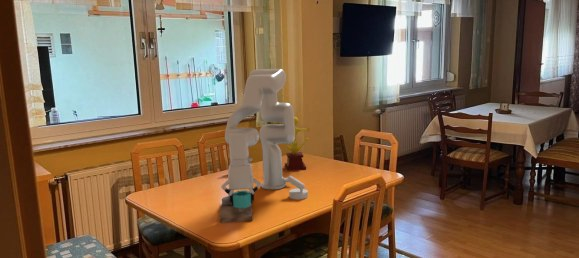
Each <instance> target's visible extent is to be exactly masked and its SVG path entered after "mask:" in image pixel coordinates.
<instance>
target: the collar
mask: <svg viewBox="0 0 579 258" xmlns="http://www.w3.org/2000/svg"><path fill="white" fill-rule="evenodd" d="M233 205H234V207H236V208H247V207H249V206H251V192H250V190H247V189H242V190H237V191H234V193H233Z"/></svg>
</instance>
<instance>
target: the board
mask: <svg viewBox="0 0 579 258" xmlns="http://www.w3.org/2000/svg"><path fill="white" fill-rule="evenodd" d="M228 189H229V188H228ZM229 190H230V189H229ZM234 192H235V190H234V191H233V193H234ZM252 205H253V203H252V204H251V206H249V207H247V208H236V207H234V205H232V202H230V196H229V194H227V196H224V197H222V198H221V206H220V214H219V223H220V224H224V223H239V222H250V221H251V222H252V221H254V220H253V207H252Z"/></svg>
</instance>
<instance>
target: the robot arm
mask: <svg viewBox="0 0 579 258" xmlns="http://www.w3.org/2000/svg"><path fill="white" fill-rule="evenodd" d="M248 75H249V76H248V77H247V79H246V82H245V87H244V92H243V97H242V100H241V101H242V102H241V104H240V106H238V107H237V108H236V109H235V110H234V111H233V112H232V113H231V114H230V116H229V118H228V120H227V123H226V127H225V132H224V139H225V143H227V144H228V148H229V158H230V159H229V160H230V164H229V165H228V173H227V175H228V176H227V180H226V181H225V182H224V183H223V184H222V185H221V189H222V190H224V192H225V193H226V194H227V195H228V194H229V196H230V202H232V205H233V191H234V192H235V190H237V191H239V190H248V191H250V193H251V204H252V205H253V203H254V201H255V193H257V191H258V189H259V188H260V187H261V189H264V190H270V191H271V190H273V191H274V190H280V189H283V188H286V186H287V183H289V182H288V181H287V178H288V177H284V176H283V158H282V155H283V154H282V149H281V148H280V146H279V145H284V144H286V145H288V144H291V145H292V143H293V142H294V139H295V128H296V126H295V124H294V117H295V114H294V113H295V111H294V107H293V106H292V104H291V103H288V102H279V101H278V92H279V91H280V90H282V88H284V87H285V85H286V82H287V75H286V72H285V71H284V69H282V68H268V69H267V68H261V69H260V68H259V69H254V70H251V71H250V72H249V74H248ZM258 112H260V114H261V120H262V121H264V122H266V123H269V124H263V125H261V127H260V129H259V131H258V129H257V128H255V127H237V126H238V125H239V123H240V122H241V121H243V120H244V119H246V118H248V117H250V116H252V115H255V114H257V113H258ZM274 123H276V124H274ZM277 123H282V124H277ZM259 140H260V142H261V150H262V151H261V152H262V170H263V171H262V172H263V182H260V181H259V180H258V179H256V178H255V177H254V173H253V167H252V164H251V162H253V157H250V154H248V153H249V147H252V146H255V145H256V144H257V143H258V142H259ZM254 185H255V186H254ZM227 186H228V187H227ZM229 189H230V190H229Z"/></svg>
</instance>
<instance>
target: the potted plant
mask: <svg viewBox="0 0 579 258" xmlns="http://www.w3.org/2000/svg"><path fill="white" fill-rule="evenodd" d="M299 122H300V121H299V118H298V117H297V116H294V124H295V139H294V142H293V143H291V145H292V146H289V145H288V144H283V145H284V146H285V147H286V148H287V149H288V150H289V151H290V152H286V157H287V159H286V162H285V163H284V168H285V170H286V171H288V172H289V171H291V172H292V171H304V170H307V166H306V164H305V162H304V161H303V158H304V154H303V152H302V151H301V149H302V148H303V147H304V145H305V143H306V142H307V141H309V138H308V137H307V138H305V140H304V141H303V142H302V143H301V144H300V145H299V146H298V141H296V138H297V135H298V133H299V132H300V131H307V132H310V126H307V128H298V127H297V126H298V125H299Z"/></svg>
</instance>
